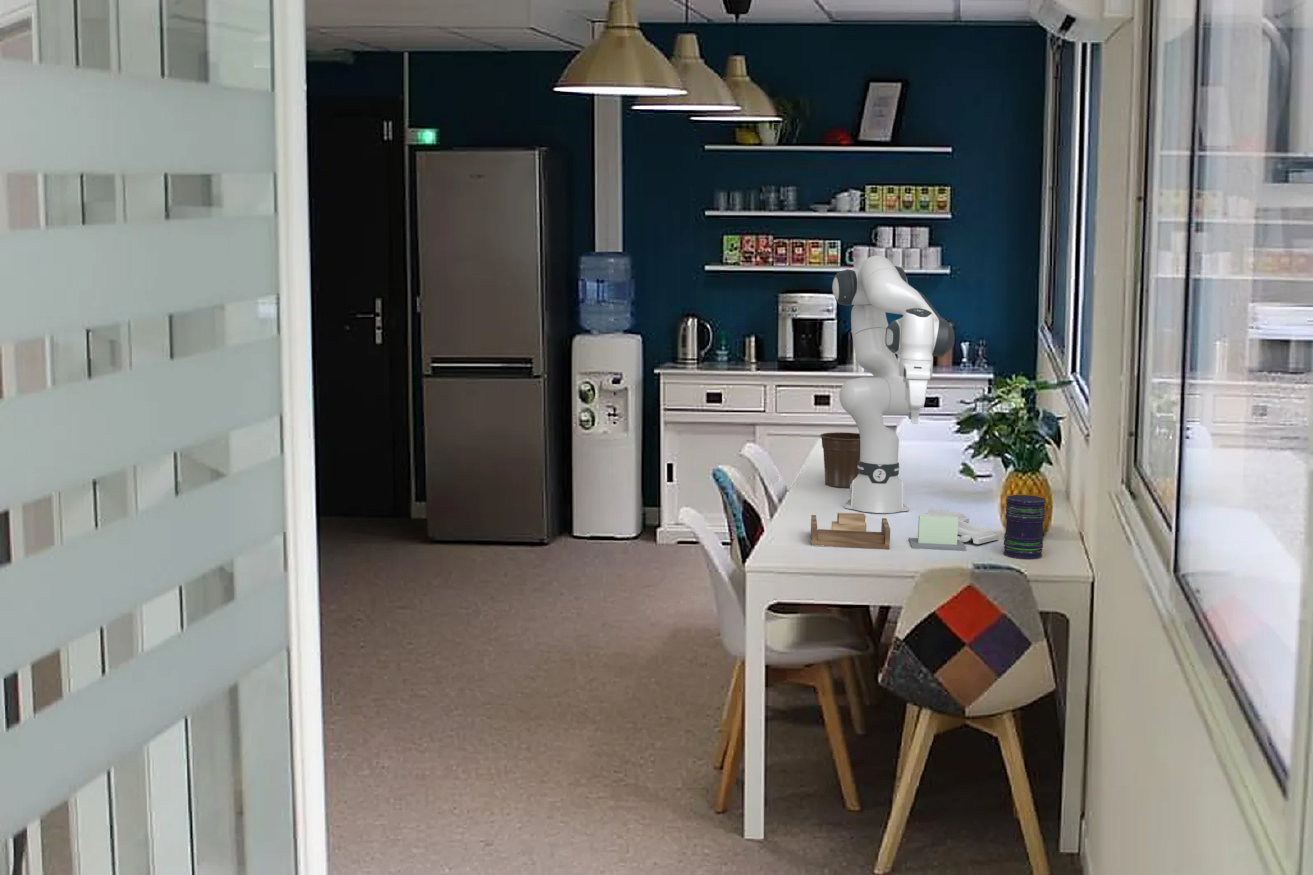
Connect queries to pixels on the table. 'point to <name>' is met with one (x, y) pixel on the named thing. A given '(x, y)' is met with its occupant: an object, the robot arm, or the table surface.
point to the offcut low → (848, 527)
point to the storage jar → (1024, 527)
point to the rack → (851, 537)
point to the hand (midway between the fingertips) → (913, 421)
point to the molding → (967, 527)
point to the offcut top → (851, 518)
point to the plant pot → (841, 458)
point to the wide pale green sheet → (937, 529)
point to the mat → (937, 545)
